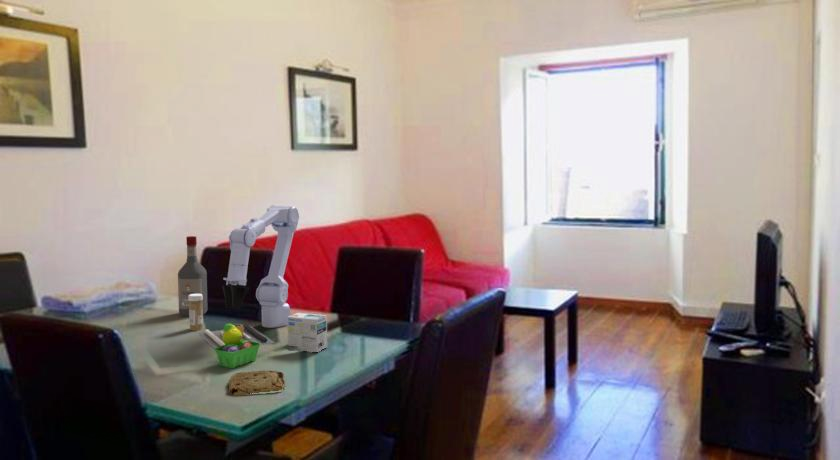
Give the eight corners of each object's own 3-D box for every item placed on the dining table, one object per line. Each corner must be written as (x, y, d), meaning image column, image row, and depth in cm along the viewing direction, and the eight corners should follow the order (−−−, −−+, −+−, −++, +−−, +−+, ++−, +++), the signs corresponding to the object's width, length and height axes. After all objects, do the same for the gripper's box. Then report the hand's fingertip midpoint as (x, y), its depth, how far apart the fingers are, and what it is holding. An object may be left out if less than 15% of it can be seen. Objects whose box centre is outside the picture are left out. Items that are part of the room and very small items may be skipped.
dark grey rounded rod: (247, 327, 215) (247, 323, 215) (267, 341, 198) (267, 337, 198) (243, 328, 214) (242, 324, 214) (263, 342, 197) (263, 338, 197)
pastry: (208, 390, 160) (208, 379, 160) (259, 372, 175) (258, 361, 174) (256, 404, 151) (256, 392, 151) (305, 383, 165) (305, 372, 165)
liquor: (200, 316, 237) (198, 238, 234) (176, 316, 237) (174, 237, 234) (209, 311, 246) (207, 235, 243) (186, 310, 246) (184, 235, 243)
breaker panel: (251, 330, 217) (250, 323, 217) (275, 347, 197) (275, 339, 197) (197, 337, 207) (197, 330, 207) (217, 356, 187) (217, 347, 187)
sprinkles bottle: (205, 333, 212) (204, 294, 211) (191, 335, 210) (190, 296, 208) (201, 330, 216) (200, 292, 215) (187, 332, 214) (186, 294, 212)
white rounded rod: (208, 332, 208) (208, 328, 208) (226, 347, 191) (226, 343, 190) (204, 333, 207) (204, 329, 207) (221, 348, 190) (221, 344, 190)
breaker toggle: (240, 335, 204) (239, 323, 204) (243, 338, 202) (242, 325, 202) (227, 337, 202) (227, 324, 202) (230, 339, 200) (230, 326, 199)
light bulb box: (327, 348, 197) (327, 314, 196) (317, 353, 191) (317, 319, 190) (298, 344, 201) (297, 311, 200) (287, 350, 194) (286, 316, 193)
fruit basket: (231, 370, 174) (230, 331, 173) (210, 365, 179) (209, 326, 178) (261, 360, 184) (261, 322, 183) (241, 355, 189) (240, 318, 188)
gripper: (219, 264, 203) (213, 306, 201) (232, 263, 191) (226, 307, 189) (240, 267, 207) (235, 308, 204) (255, 266, 194) (249, 309, 192)
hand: (232, 308), depth 197 cm, fingers open, 7 cm apart
